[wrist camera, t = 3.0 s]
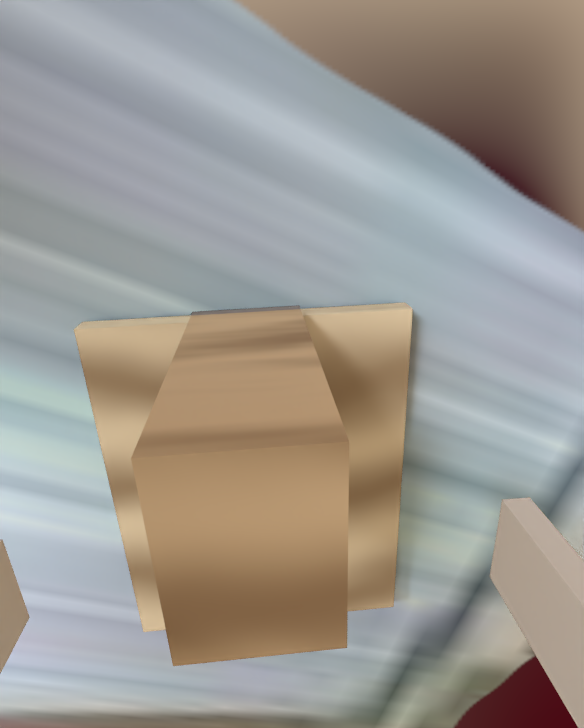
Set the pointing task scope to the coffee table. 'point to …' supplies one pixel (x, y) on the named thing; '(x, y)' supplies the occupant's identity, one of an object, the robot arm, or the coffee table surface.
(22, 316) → the coffee table surface
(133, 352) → the board
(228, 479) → the block
